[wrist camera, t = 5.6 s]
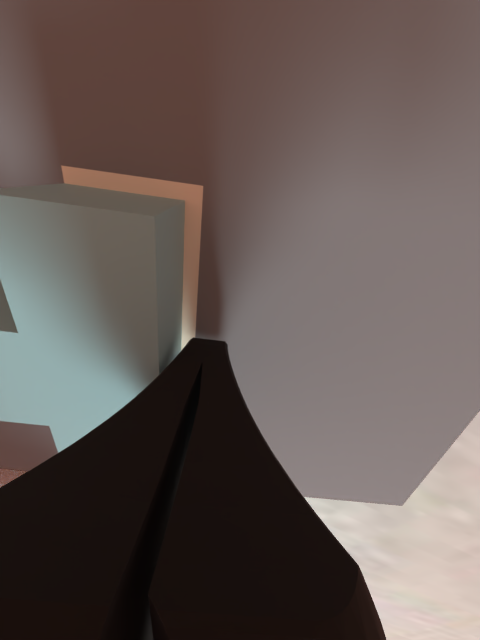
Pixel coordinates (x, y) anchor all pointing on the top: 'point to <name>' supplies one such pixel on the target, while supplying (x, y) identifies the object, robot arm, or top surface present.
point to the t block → (85, 302)
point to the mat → (283, 204)
